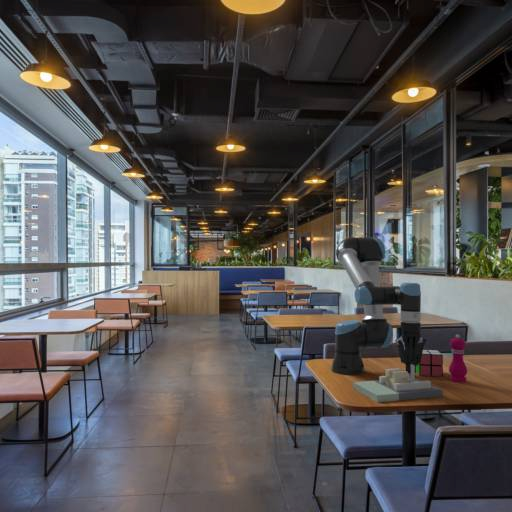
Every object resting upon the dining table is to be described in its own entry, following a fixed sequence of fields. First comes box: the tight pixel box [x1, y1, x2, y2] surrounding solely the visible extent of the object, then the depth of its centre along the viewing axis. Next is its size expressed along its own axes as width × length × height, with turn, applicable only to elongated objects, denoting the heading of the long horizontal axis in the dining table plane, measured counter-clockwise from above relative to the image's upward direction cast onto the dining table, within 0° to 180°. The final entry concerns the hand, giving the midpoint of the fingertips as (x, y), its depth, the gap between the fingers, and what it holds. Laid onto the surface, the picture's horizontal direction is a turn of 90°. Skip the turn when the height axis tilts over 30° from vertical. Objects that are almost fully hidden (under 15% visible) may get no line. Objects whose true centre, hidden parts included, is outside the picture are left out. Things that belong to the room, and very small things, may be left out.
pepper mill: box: [448, 334, 468, 384], centre depth 184 cm, size 7×7×20 cm
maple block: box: [385, 367, 408, 388], centre depth 167 cm, size 6×6×6 cm
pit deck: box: [352, 375, 444, 403], centre depth 167 cm, size 18×28×5 cm, turn 105°
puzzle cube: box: [416, 349, 444, 378], centre depth 196 cm, size 10×10×10 cm
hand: (410, 381), depth 169 cm, fingers closed
